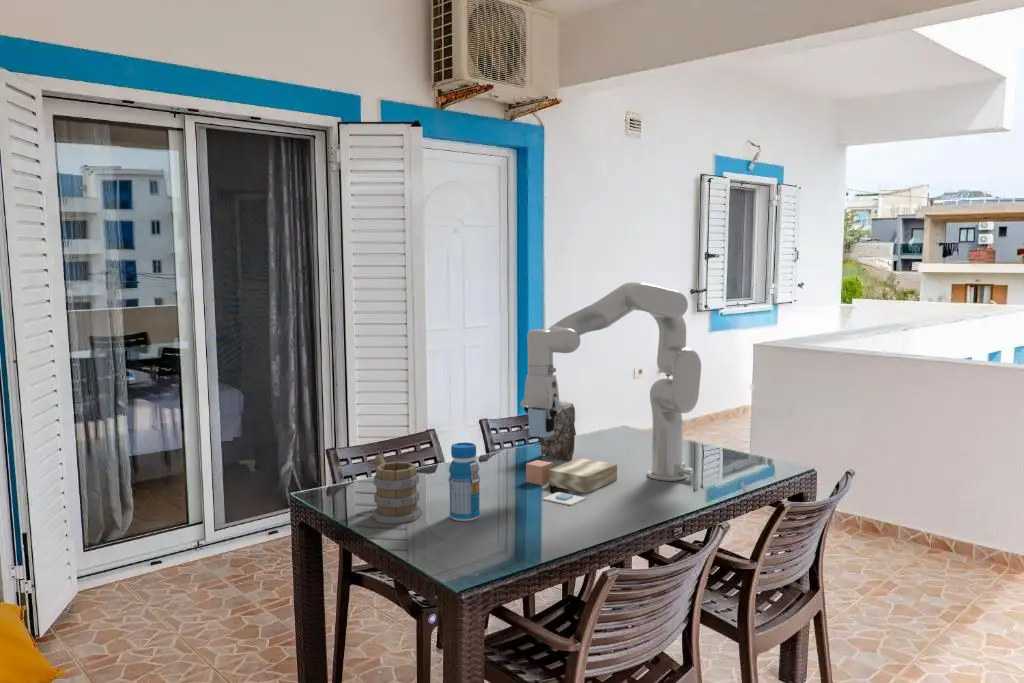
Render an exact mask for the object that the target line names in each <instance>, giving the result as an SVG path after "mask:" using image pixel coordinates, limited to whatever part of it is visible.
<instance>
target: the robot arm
mask: <svg viewBox="0 0 1024 683" xmlns="http://www.w3.org/2000/svg"><path fill="white" fill-rule="evenodd" d="M688 307H689V303H688V299H687V297H686V296H685V294H683V293H682V292H680V291H678V290H674V289H669V288H666V287H661V286H658V285H654V284H652V283H651V284H650V283H646V282H626V283H623V284H621V285H620V286H618V287H617V288H615V289H614V290H613V291H610V292H609V293H608V294H606V295H604V296H603V297H601V298H600V299H598V300H597V301H596V302H594V303H592V304H590V305H588V306H585V307H583V308H581V309H580V310H577V311H575V312H573V313H571V314H568V315H567V316H565V317H563V318H562V319H560V320H559V321H557V322H556V323H554V324H552V325H551V326H549V327H548V329H547V328H536V329H530V330H529V331H528V332H527V337H526V340H527V341H526V342H527V375H525V376H526V378H525V383H524V397H523V398H522V400H521V401H520V403H519V405H520V406H521V408H522V409H523V410H524V411H525V413H526V415H527V417H528V409H531V408H539V409H545V410H546V414H547V417H548V419H546V431H547V432H551V431H554V418H555V417H556V415H557V414H558V413H559V412H560V411H561V410H562V409H563V406H562V405H561V403H560V402H559V401H560V394H559V384H558V380H557V375H556V374H554V373H556V371H557V368H556V367H554V353H557V354H558V353H560V354H571V353H573V352H575V351H577V349H579V347H580V345H581V336H582V335H584V334H587V333H590V332H594V331H601V330H604V329H607V328H609V327H611V326H612V325H613V324H615V323H616V322H618V321H619V320H621V319H623V318H624V317H625V316H628V314H630V313H632V312H633V311H641V312H646V313H649V315H650V316H652V317H653V318H654V320H655V321H656V324H657V326H658V346H657V356H656V366H657V368H658V371H660V372H661V373H662V374H666V375H668V376H672V378H661V379H658V380H655V382H654V383H653V384H652V385H651V387H650V391H649V401H650V402H649V403H650V407H651V415H652V417H651V418H652V434H651V435H652V436H651V437H652V438H651V440H652V443H651V444H652V446H651V450H652V451H651V452H652V453H651V454H652V456H651V457H652V459H651V461H652V462H651V463H652V465H651V466H652V467H651V469H648V470H647V474H646V475H647V477H649V478H651V479H653V480H658V481H664V482H665V481H666V482H673V481H682V480H685V479H686V478H687V477H688V476H691V477H692V476H693V475H694V468H693V467H687V466H686V462H683V439H684V437H683V434H684V433H683V430H684V429H683V427H684V426H683V425H684V424H683V415H682V414H688V413H690V412H692V411H693V410H694V409H695V408H696V406H697V403H698V402H699V401H698V400H699V394H700V384H701V373H702V361H701V358H700V356H699V353H697V352H696V350H694V349H692V348H690V347H687V326H686V325H687V324H686V321H685V318H684V317H683V316H684V315H685V314H686V312H687V310H688ZM554 407H556V409H555V410H554ZM550 412H551V413H550Z"/></svg>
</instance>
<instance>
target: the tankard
mask: <svg viewBox="0 0 1024 683" xmlns="http://www.w3.org/2000/svg"><path fill="white" fill-rule="evenodd" d="M374 460H375V463H376V464H377V463H378V466H376V467H375V475H374V476H373V485H374V486H375V488H376V492H375V493H374V494H373V502H374V503H375V504H376V509H374V510H372V512H371V517H372V518H373V519H374V520H375V521H377V522H378V523H380V524H390V525H398V524H405V523H410V522H415V521H416V520H417V519H418V518H420V516H423V509H422V508H421V507H420V506H418V501H419V500H420V492H419V491H418V490H417V485H418V484H419V483H420V478H419V475H420V474H418V473H417V466H416V464H413V463H412V462H407V461H393V462H386V461H385V459H384V457H383V455H382V454H380V453H379V454H377V455H376V456H375V457H374Z"/></svg>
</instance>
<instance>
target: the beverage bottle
mask: <svg viewBox="0 0 1024 683" xmlns="http://www.w3.org/2000/svg"><path fill="white" fill-rule="evenodd" d="M450 455H451V458H452V461H451V463H450V465H449V468H448V473H449V474H450V475H449V476H448V483H449V484H448V486H449V488H448V489H449V518H451V519H452V520H453V521H457V522H470V521H474V520H477V519H479V518H480V516H481V515H480V514H481V512H480V511H481V510H480V481H481V477H480V474H479V472H480V467H479V464H478V462H477V460H476V459H475V458H476V457H477V445H476V444H475V443H472V442H457V443H453V444H451V447H450Z"/></svg>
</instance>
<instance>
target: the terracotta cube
mask: <svg viewBox="0 0 1024 683" xmlns="http://www.w3.org/2000/svg"><path fill="white" fill-rule="evenodd" d="M552 468H553V462H552V461H550V462H549V461H544V460H539V459H535V460H532V461H530V462H527V463H526V464H525V474H526V475H525V483H528V482H529V483H528V484H533V483H534V485H538V484H539V486H543V485H546V484H548V483H547V482H549V476H548V470H549V469H552ZM545 483H546V484H545Z"/></svg>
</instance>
